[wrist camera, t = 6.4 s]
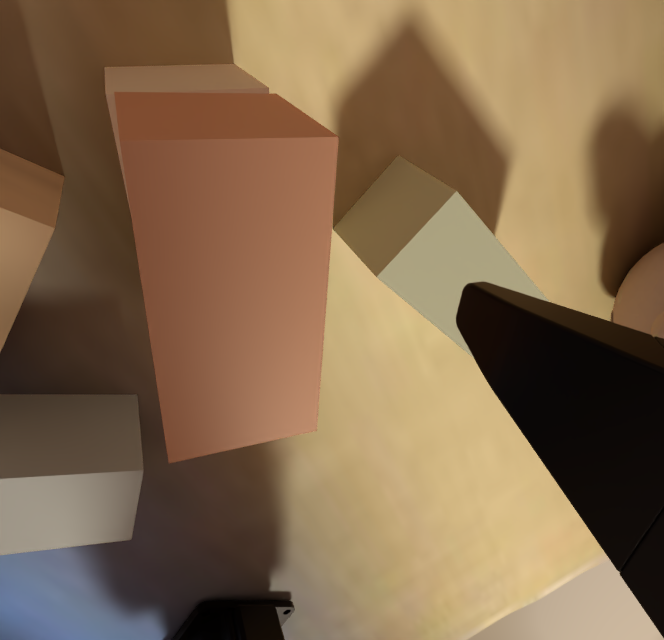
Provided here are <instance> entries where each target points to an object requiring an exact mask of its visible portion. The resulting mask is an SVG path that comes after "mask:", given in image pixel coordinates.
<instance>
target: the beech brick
mask: <svg viewBox="0 0 664 640" xmlns="http://www.w3.org/2000/svg"><path fill="white" fill-rule="evenodd" d="M64 178H65V177H64V176H62V175H60V174H57V173H55V172H53V171H50V170H48V169H46V168H44V167H41V166H39V165H37V164H34V163H32V162H30V161H28V160H25V159H23V158H21V157H19V156H16V155H14V154H12V153H9V152H7V151H5V150H3V149H0V352H1V350H2V348H3V345H4V343H5V341H6V339H7V336H8V334H9V332H10V330H11V327H12V325H13V323H14V320H15V318H16V316H17V314H18V311H19V309H20V307H21V305H22V302H23V300H24V298H25V296H26V293H27V291H28V289H29V286H30V284H31V282H32V280H33V277H34V275H35V273H36V271H37V268H38V266H39V264H40V261H41V259H42V257H43V255H44V252H45V250H46V248H47V246H48V243H49V241H50V239H51V237H52V234H53V232H54V230H55V226H56V221H57V215H58V210H59V205H60V199H61V194H62V189H63V183H64Z"/></svg>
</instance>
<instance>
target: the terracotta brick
mask: <svg viewBox="0 0 664 640" xmlns="http://www.w3.org/2000/svg"><path fill="white" fill-rule="evenodd" d="M114 95H115V104H116V113H117V122H118V130H119V139H120V146H121V153H122V160H123V166H124V173H125V179H126V186H127V192H128V199H129V205H130V212H131V219H132V225H133V232H134V238H135V245H136V251H137V258H138V264H139V271H140V278H141V284H142V291H143V297H144V304H145V310H146V317H147V323H148V330H149V337H150V343H151V350H152V356H153V363H154V369H155V376H156V383H157V389H158V396H159V402H160V409H161V415H162V422H163V428H164V435H165V442H166V448H167V455H168V461H169V463H173V462H178V461H182V460H187V459H191V458H196V457H201V456H205V455H210V454H214V453H219V452H223V451H228V450H232V449H237V448H241V447H246V446H250V445H255V444H259V443H264V442H268V441H273V440H277V439H282V438H286V437H291V436H295V435H300V434H304V433H309V432H313V431H317V421H318V408H319V394H320V381H321V367H322V354H323V341H324V327H325V314H326V301H327V287H328V274H329V261H330V247H331V234H332V221H333V207H334V194H335V181H336V167H337V154H338V141H339V137H338V136H337V135H335V134H334V133H332V132H331V131H329V130H328V129H327V128H325V127H324V126H322V125H321V124H319V123H318V122H316V121H315V120H314V119H312V118H311V117H309V116H308V115H306V114H305V113H303V112H302V111H301V110H299V109H298V108H296V107H295V106H293V105H292V104H290V103H289V102H288V101H286V100H285V99H283V98H282V97H280V96H279V95H277V94H257V93H172V92H114Z"/></svg>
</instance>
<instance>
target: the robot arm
mask: <svg viewBox="0 0 664 640" xmlns="http://www.w3.org/2000/svg"><path fill="white" fill-rule="evenodd" d="M456 325H457V328H458V330H459V332H460V333H461V335H462V337H463V339H464V341H465V342H466V344H467V346H468V348H469V350H470V352H471V353H472V355H473V357H474V359H475V361H476V362H477V364H478V366H479V368H480V370H481V372H482V373H483V375H484V377H485V379H486V380H487V382H488V384H489V385H490V387H491V388H492V390H493V391H494V393H495V394H496V396H497V397H498V398H499V400H500V401H501V403H502V404H503V406H504V407H505V409H506V410H507V411H508V413H509V414H510V416H511V417H512V419H513V420H514V422H515V423H516V424H517V426H518V427H519V429H520V430H521V432H522V433H523V435H524V436H525V438H526V439H527V440H528V442H529V443H530V445H531V446H532V448H533V449H534V451H535V452H536V453H537V455H538V456H539V458H540V459H541V461H542V462H543V464H544V465H545V466H546V468H547V469H548V471H549V472H550V474H551V475H552V477H553V478H554V479H555V481H556V482H557V484H558V485H559V487H560V488H561V490H562V491H563V492H564V494H565V495H566V497H567V498H568V500H569V501H570V503H571V504H572V505H573V507H574V508H575V510H576V511H577V513H578V514H579V516H580V517H581V518H582V520H583V521H584V523H585V524H586V526H587V527H588V529H589V530H590V531H591V533H592V534H593V536H594V537H595V539H596V540H597V542H598V543H599V544H600V546H601V547H602V549H603V550H604V552H605V553H606V555H607V556H608V557H609V559H610V560H611V562H612V563H613V565H614V566H615V568H616V569H617V570H618V571H619V572H620V575H621V576H622V578H623V580H624V581H625V583H626V584H627V586H628V587H629V588H630V590H631V591H632V593H633V594H634V596H635V597H636V599H637V600H638V601H639V603H640V604H641V606H642V607H643V609H644V610H645V612H646V613H647V615H648V616H649V617H650V619H651V620H652V622H653V623H654V625H655V626H656V628H657V629H658V630H659V632H660V633H661V635H662V636H663V638H664V339H663V338H660V337H657V336H655V337H653V336H652V335H651V334H647V333H644V332H641V331H638V330H635V329H632V328H629V327H626V326H622V325H619V324H616V323H613V322H610V321H607V320H604V319H601V318H598V317H594V316H591V315H588V314H585V313H582V312H579V311H576V310H573V309H569V308H566V307H563V306H560V305H557V304H554V303H551V302H548V301H544V300H541V299H538V298H535V297H532V296H529V295H526V294H523V293H520V292H516V291H513V290H510V289H507V288H504V287H501V286H498V285H495V284H491V283H488V282H484V281H481V282H473V283H468V284H466V285H465V286H464V288H463V290H462V294H461V298H460V302H459V306H458V310H457V314H456ZM294 610H295V609H294V605H293V602H292V601H206V602H203V603H201V604H199V605H198V606H197V607H196V609H195V610H194V611H193V613H192V614H191V615H190V617H189V618H188V619H187V621H186V622H185V624H184V625H183V626H182V628H181V629H180V630H179V632H178V633H177V634H176V636H175V637H174V639H173V640H285V639H284V635H283V632H282V628H281V626H282V625H283V624H284V623H285V622H286V620H287V619H288V618H289V617H290V616H291V614H292V613H293V612H294Z"/></svg>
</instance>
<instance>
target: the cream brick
mask: <svg viewBox="0 0 664 640" xmlns="http://www.w3.org/2000/svg"><path fill="white" fill-rule="evenodd" d="M104 70H105V94H106V99H107V104H108V109H109V113H110V118H111V123H112V128H113V132H114V137H115V142H116V147H117V151H118V156H119V161H120V166H121V170H122V175H123V180H124V185H125V189H126V194H127V199H128V192H127V186H126V179H125V173H124V166H123V160H122V153H121V146H120V139H119V130H118V122H117V113H116V104H115V95H114V92H172V93H257V94H269V87H267V86H266V85H264V84H263V83H261V82H260V81H258V80H257V79H256V78H254V77H253V76H251V75H250V74H248V73H247V72H245V71H244V70H242V69H241V68H239V67H238V66H237V65H235V64H203V65H164V66H126V67H104ZM128 204H129V199H128ZM129 208H130V205H129ZM130 213H131V212H130Z"/></svg>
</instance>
